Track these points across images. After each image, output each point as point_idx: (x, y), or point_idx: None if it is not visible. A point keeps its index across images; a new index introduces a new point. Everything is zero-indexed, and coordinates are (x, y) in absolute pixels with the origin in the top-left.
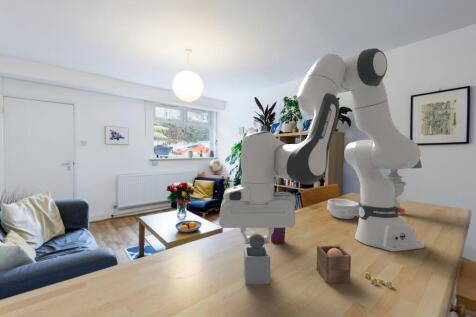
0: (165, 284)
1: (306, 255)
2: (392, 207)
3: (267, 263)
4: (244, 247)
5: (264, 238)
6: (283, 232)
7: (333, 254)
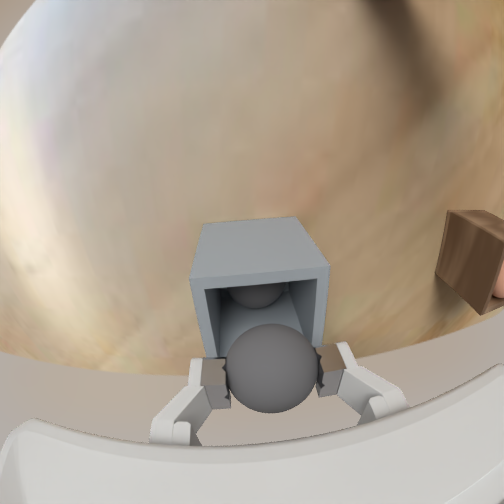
0: (24, 296)
1: (455, 106)
2: None
3: None
4: (194, 290)
5: (319, 393)
6: None
7: (499, 296)
